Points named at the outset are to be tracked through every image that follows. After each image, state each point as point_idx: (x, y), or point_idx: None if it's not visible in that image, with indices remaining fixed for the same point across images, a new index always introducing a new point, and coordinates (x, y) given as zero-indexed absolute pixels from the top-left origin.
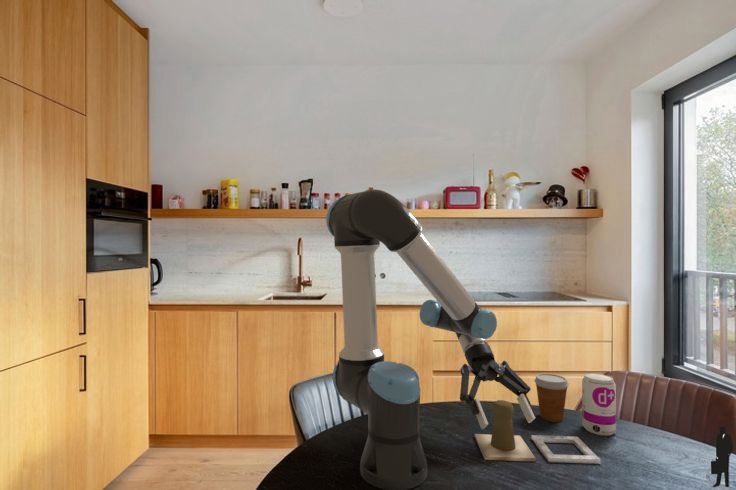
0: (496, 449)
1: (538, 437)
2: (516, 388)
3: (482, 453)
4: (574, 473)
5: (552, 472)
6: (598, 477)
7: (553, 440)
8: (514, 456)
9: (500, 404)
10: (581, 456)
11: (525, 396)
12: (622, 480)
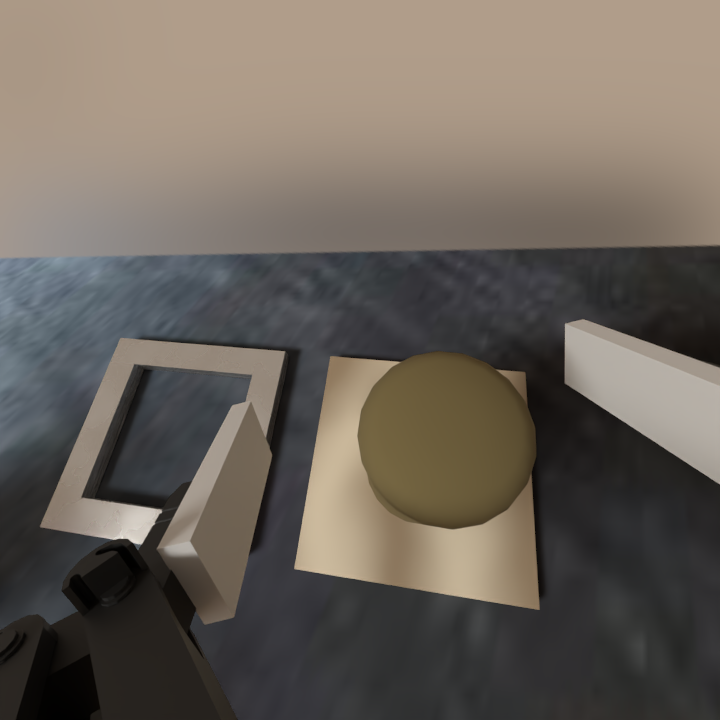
0: None
1: None
2: (182, 632)
3: None
4: (251, 296)
5: (313, 300)
6: (199, 278)
7: None
8: None
9: (486, 379)
10: (164, 358)
11: (152, 556)
12: (148, 266)
